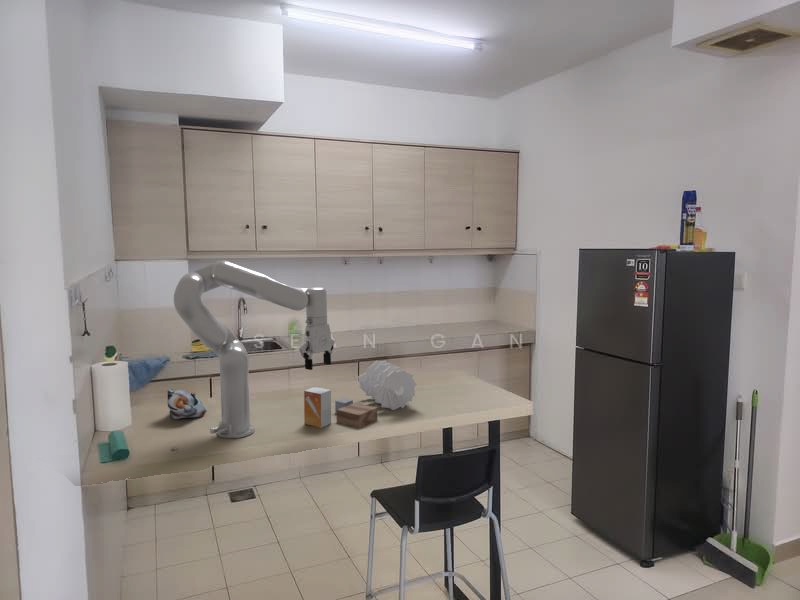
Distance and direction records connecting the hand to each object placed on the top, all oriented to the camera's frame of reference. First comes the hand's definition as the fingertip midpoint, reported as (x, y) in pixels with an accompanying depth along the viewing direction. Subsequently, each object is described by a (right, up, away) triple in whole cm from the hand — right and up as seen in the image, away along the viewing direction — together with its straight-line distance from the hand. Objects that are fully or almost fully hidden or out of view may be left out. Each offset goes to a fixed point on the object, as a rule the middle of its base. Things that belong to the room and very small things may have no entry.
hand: (318, 366), depth 201 cm
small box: (-1, -22, +2) cm, 22 cm away
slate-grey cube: (+8, -20, +16) cm, 27 cm away
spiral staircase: (+25, -19, +27) cm, 42 cm away
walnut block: (+14, -22, +6) cm, 26 cm away
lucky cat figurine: (-53, -21, +10) cm, 57 cm away
